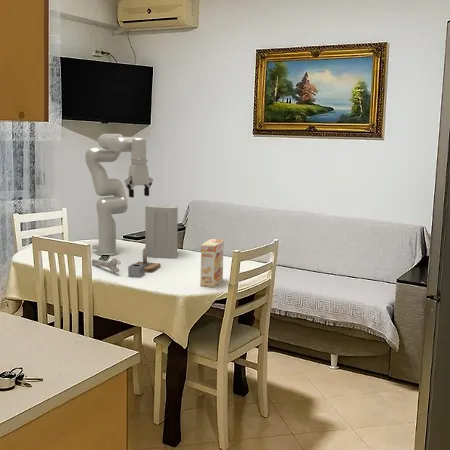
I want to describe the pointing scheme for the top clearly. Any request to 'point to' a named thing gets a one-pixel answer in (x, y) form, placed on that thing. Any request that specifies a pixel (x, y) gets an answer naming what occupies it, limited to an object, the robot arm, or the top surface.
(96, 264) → the wrench
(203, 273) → the coffeecake box
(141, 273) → the grey slotted block
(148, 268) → the shaft block
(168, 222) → the upright grey panel
